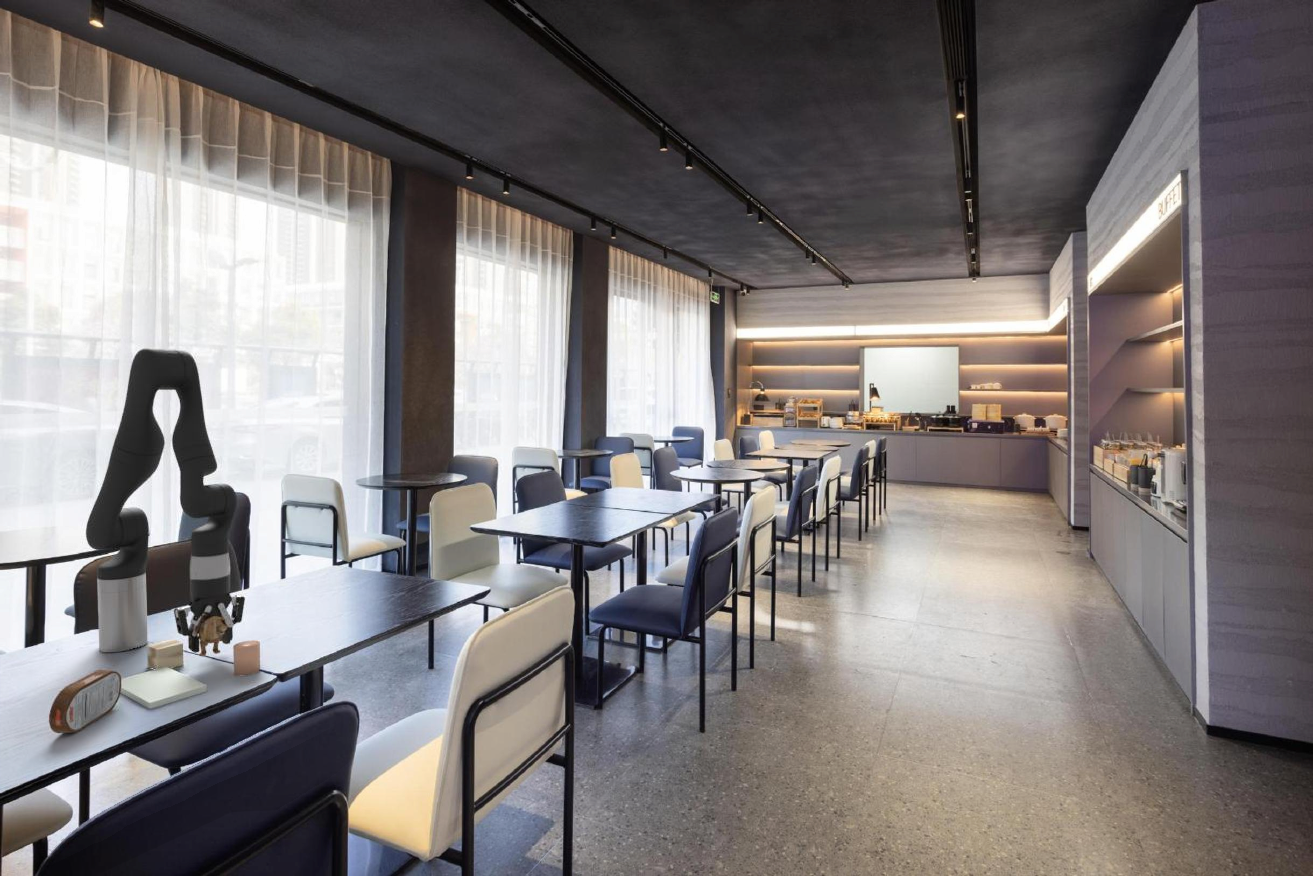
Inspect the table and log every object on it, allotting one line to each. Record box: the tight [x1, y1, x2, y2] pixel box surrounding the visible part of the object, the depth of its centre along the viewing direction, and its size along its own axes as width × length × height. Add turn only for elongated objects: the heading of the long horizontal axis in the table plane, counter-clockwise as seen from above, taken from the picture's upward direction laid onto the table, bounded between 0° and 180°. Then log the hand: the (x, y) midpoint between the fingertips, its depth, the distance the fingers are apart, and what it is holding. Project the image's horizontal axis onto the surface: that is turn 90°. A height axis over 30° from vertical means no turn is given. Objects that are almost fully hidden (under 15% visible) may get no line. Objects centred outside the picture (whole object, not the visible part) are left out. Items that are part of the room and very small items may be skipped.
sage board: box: [121, 667, 208, 710], centre depth 141 cm, size 18×10×1 cm, turn 57°
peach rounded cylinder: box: [232, 640, 261, 676], centre depth 151 cm, size 5×5×6 cm
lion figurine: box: [198, 616, 228, 657], centre depth 156 cm, size 15×5×9 cm, turn 36°
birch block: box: [146, 638, 184, 670], centre depth 154 cm, size 5×5×5 cm
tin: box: [48, 668, 122, 734], centre depth 127 cm, size 15×3×8 cm, turn 5°
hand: (210, 647), depth 155 cm, fingers closed on lion figurine, 6 cm apart
